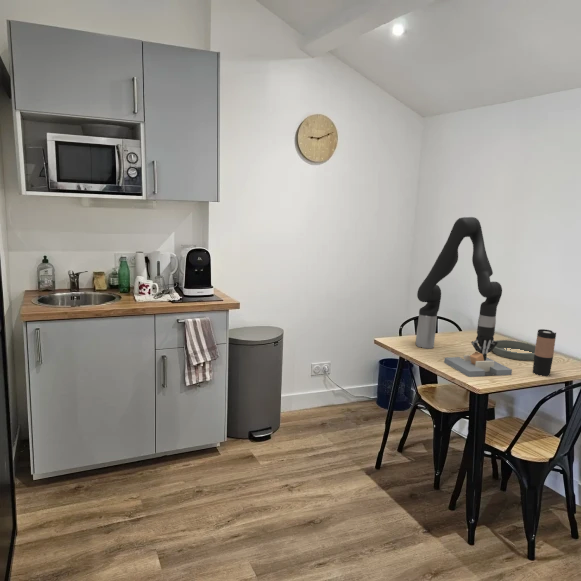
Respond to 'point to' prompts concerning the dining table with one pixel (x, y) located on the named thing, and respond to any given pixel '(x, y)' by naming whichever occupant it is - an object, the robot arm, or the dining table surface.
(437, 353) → the dining table surface
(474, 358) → the block
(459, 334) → the dining table surface
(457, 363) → the tunnel deck
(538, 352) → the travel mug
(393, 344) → the dining table surface
